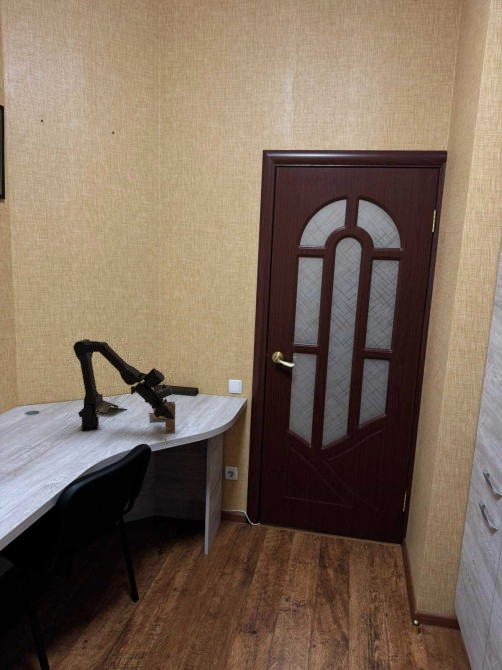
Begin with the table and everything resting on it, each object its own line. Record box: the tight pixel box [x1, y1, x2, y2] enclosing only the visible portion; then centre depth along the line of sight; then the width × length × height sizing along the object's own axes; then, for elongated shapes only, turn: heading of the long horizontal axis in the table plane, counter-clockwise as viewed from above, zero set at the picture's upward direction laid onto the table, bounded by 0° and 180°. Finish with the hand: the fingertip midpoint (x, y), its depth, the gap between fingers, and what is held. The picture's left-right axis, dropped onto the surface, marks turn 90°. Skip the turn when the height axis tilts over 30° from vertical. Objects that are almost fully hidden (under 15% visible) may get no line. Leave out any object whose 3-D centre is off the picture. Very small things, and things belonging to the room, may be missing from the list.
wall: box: [99, 399, 124, 414], centre depth 222 cm, size 16×9×15 cm
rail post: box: [164, 401, 176, 434], centre depth 199 cm, size 4×4×13 cm
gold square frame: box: [149, 407, 165, 423], centre depth 216 cm, size 11×11×4 cm
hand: (173, 417), depth 200 cm, fingers open, 4 cm apart
